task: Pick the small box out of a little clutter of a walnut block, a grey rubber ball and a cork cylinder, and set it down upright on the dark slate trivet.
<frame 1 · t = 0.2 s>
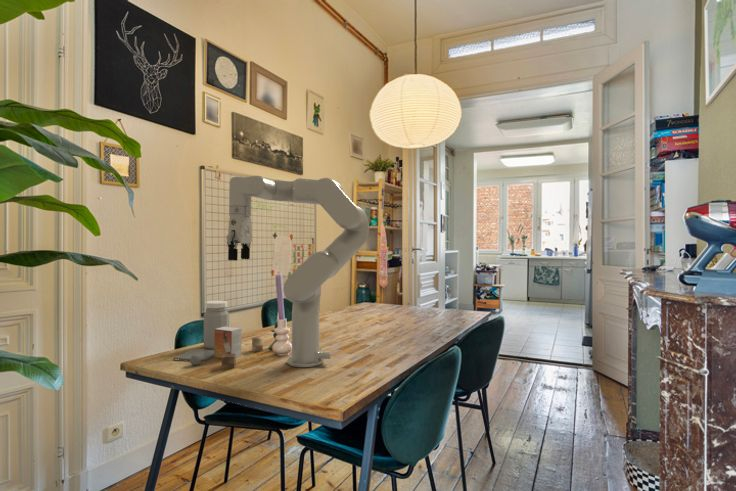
hand: (239, 259, 146), 36 cm above the table, tool pointing down, fingers open, 9 cm apart
walnut block: (228, 367, 138), on the table
slate trivet: (198, 356, 150), on the table
grey rubber ball: (195, 365, 139), on the table
small box: (227, 357, 149), on the table
jar: (216, 347, 164), on the table
cork cylinder: (257, 350, 158), on the table
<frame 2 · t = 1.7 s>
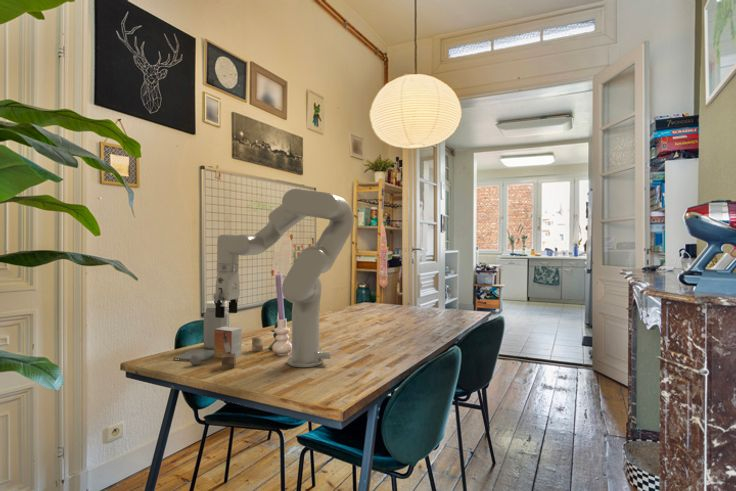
hand: (226, 315, 149), 15 cm above the table, tool pointing down, fingers open, 9 cm apart
nothing on the table moved.
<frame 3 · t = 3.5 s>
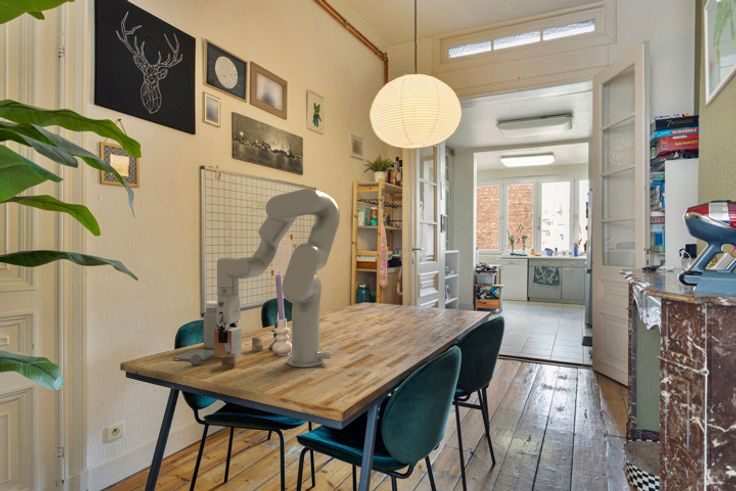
hand: (227, 340, 149), 6 cm above the table, tool pointing down, fingers closed on small box, 6 cm apart
small box: (227, 357, 149), on the table, touching gripper
everything else where it was.
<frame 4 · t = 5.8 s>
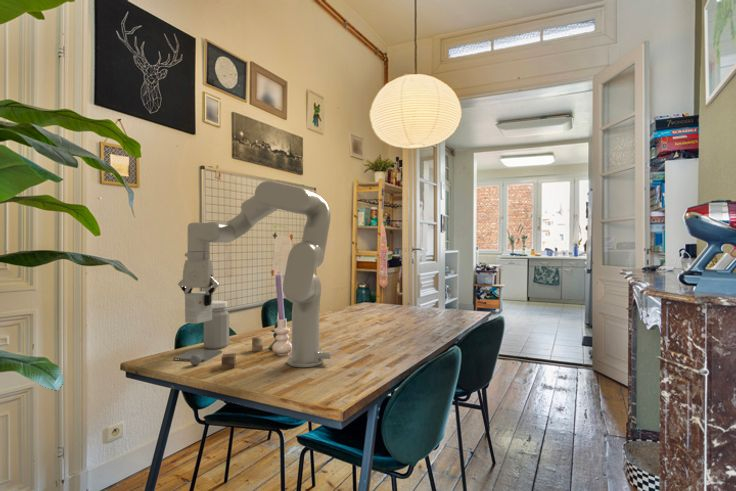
hand: (198, 304, 150), 19 cm above the table, tool pointing down, fingers closed on small box, 6 cm apart
small box: (198, 322, 150), point 13 cm above the table, touching gripper
everything else where it was.
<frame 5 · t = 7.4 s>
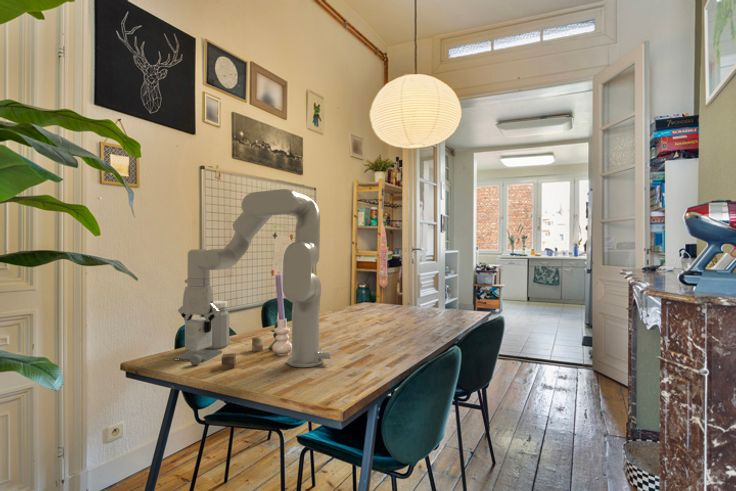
hand: (198, 331, 150), 9 cm above the table, tool pointing down, fingers closed on small box, 6 cm apart
small box: (198, 348, 150), point 3 cm above the table, touching gripper
everything else where it was.
when the fingers open (8 cm above the table, at t = 8.5 s): small box drops 1 cm, resting on slate trivet.
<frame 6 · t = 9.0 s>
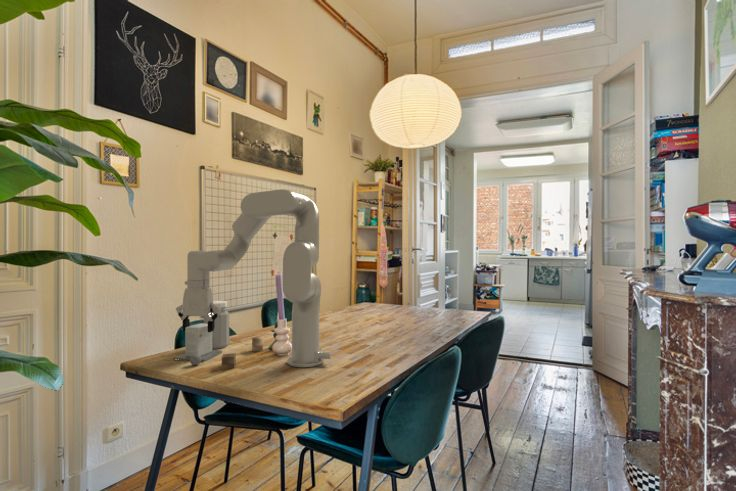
hand: (198, 331, 150), 9 cm above the table, tool pointing down, fingers open, 9 cm apart
small box: (199, 354, 150), point 1 cm above the table, touching slate trivet
everything else where it was.
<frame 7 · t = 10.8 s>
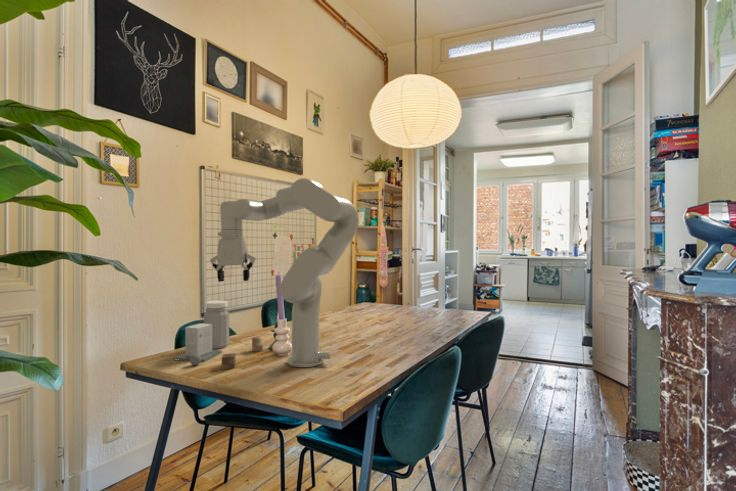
hand: (233, 281, 151), 28 cm above the table, tool pointing down, fingers open, 9 cm apart
nothing on the table moved.
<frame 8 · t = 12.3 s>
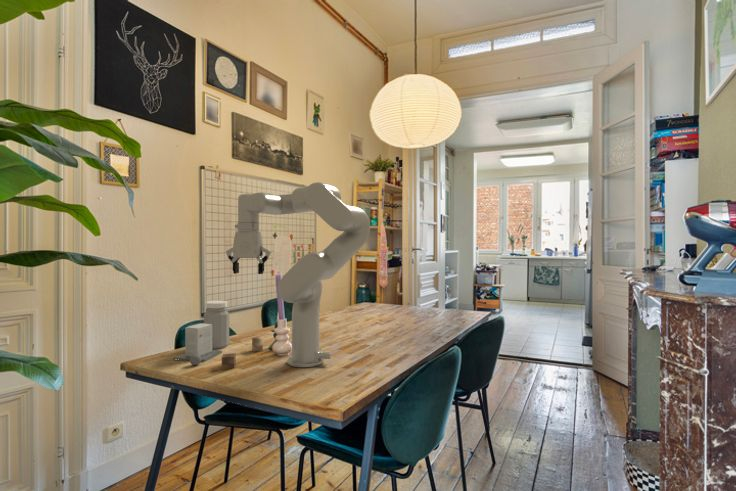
hand: (248, 273, 152), 30 cm above the table, tool pointing down, fingers open, 9 cm apart
nothing on the table moved.
at the end: small box inside the target area on the slate trivet (0.2 cm from its centre), point 0.6 cm above the slate trivet's base; small box tilted 0°; the gripper is holding nothing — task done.
